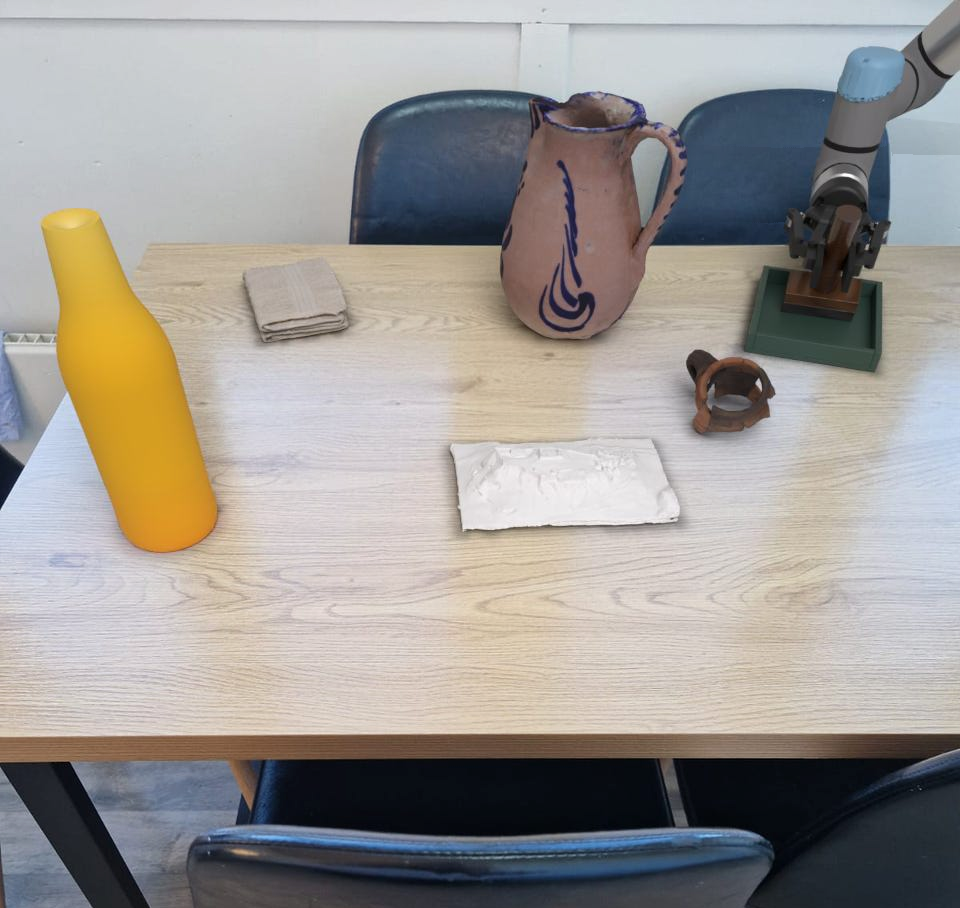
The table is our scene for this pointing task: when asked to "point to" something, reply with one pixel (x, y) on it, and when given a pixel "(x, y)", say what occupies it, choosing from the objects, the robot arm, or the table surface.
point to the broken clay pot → (728, 391)
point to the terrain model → (562, 484)
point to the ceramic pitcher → (582, 214)
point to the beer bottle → (126, 390)
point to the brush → (828, 275)
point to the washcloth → (296, 299)
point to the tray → (816, 327)
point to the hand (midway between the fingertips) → (831, 279)
